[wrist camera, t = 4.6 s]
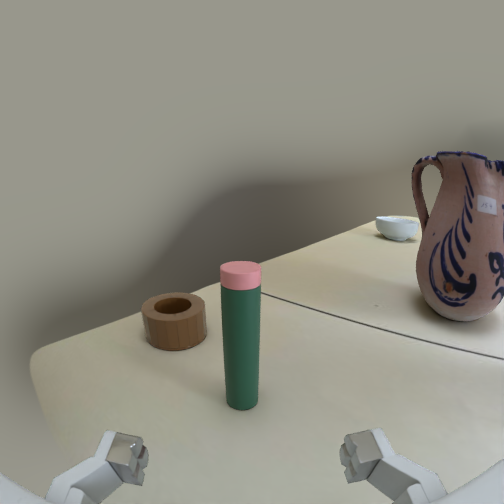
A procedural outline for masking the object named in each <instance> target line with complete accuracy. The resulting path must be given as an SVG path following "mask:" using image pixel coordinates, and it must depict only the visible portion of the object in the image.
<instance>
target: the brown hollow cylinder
mask: <svg viewBox="0 0 504 504" xmlns="http://www.w3.org/2000/svg"><path fill="white" fill-rule="evenodd" d="M141 313H142V319H143V325H144V330H145V335H146V339H147V341H148V342H149V343H150V344H151V345H152V346H154V347H156V348H159V349H163V350H171V351H175V350H184V349H188V348H191V347H194V346H196V345H197V344H199V343H200V342H202V341H203V340H204V338H205V337H206V333H207V330H206V316H205V303H204V301H203V300H202V299H201V298H200V297H198V296H196V295H193V294H189V293H167V294H161V295H158V296H155V297H152V298H150V299H148V300H146V301H145V302H144V303H143V304H142V307H141Z"/></svg>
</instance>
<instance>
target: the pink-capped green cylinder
mask: <svg viewBox="0 0 504 504" xmlns="http://www.w3.org/2000/svg"><path fill="white" fill-rule="evenodd" d="M220 279H221V280H220V281H221V309H222V331H223V351H224V369H225V385H226V399H227V403H228V404H229V405H230V406H231V407H232V408H234V409H238V410H247V409H250V408H252V407H254V406H255V405H256V404H257V402H258V381H259V344H260V302H261V266H260V265H259V264H257V263H253V262H249V261H233V262H228V263H225V264H223V265H221V267H220Z"/></svg>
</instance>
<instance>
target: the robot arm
mask: <svg viewBox="0 0 504 504" xmlns="http://www.w3.org/2000/svg"><path fill="white" fill-rule="evenodd" d="M344 442H345V443H344V444H343V445H341V448H340V460H341V464H342V465H344V466H345V467H346V469H345V471H344V473H345V476H346V479H347V482H348V484H349V483H353V482H358V481H362V480H366V479H367V481H368V482H369V483H371V484H372V485H373V486H374V487H376V488H377V489H378V490H380V491H381V492H382V493H384V494H385V495H386V496H388V497H389V498H390V499H392V500H393V501H394V502H393V503H392V504H504V459H502V460H500V461H498V462H497V463H495V464H494V465H493V466H491V467H490V468H489V469H487V470H486V471H484V472H483V473H481V474H480V475H478V476H477V477H475V478H474V479H472V480H471V481H469V482H468V483H466V484H464V485H463V486H461V487H459V488H458V489H456V490H454V491H452V492H451V493H449V494H447V492H446V490H445V488H444V486H443V484H442V482H441V481H440V479H439V477H438V475H437V474H436V473H434V472H432V471H430V470H428V469H426V468H424V467H422V466H420V465H418V464H417V463H415V462H413V461H411V460H409V459H407V458H405V457H404V456H402V455H400V454H395V453H394V451H393V449H392V447H391V445H390V443H389V441H388V439H387V437H386V435H385V433H384V431H383V430H382V429H381V428H375V429H371V430H366V431H362V432H358V433H353V434H348V435H346V436H345V438H344ZM148 456H149V455H148V450H147V448H146V447H145V446H144V445H143V440H142V438H141V437H138V436H133V435H128V434H123V433H119V432H114V431H110V430H107V431H106V432H105V433H104V435H103V437H102V439H101V441H100V444H99V446H98V448H97V451H96V453H95V455H94V457H89V458H87V459H86V460H84V461H82V462H81V463H79V464H77V465H76V466H74V467H72V468H71V469H69V470H67V471H65V472H64V473H62V474H60V475H58V476H56V477H55V478H54V479H53V481H52V483H51V485H50V488H49V490H48V492H47V494H46V496H45V499H44V498H42V497H40V496H38V495H36V494H34V493H33V492H31V491H29V490H27V489H26V488H24V487H22V486H21V485H19V484H18V483H16V482H14V481H13V480H11V479H10V478H8V477H7V476H5V475H4V474H2V473H1V472H0V504H99V503H101V502H102V501H103V500H104V499H105V498H107V497H108V496H109V495H110V494H111V493H113V492H114V491H115V490H116V489H117V488H118V487H120V486H121V485H122V484H123V482H125V483H130V484H135V485H140V486H142V484H143V480H144V476H145V473H144V472H143V469H144V468H145V467H147V464H148Z"/></svg>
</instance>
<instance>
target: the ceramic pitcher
mask: <svg viewBox="0 0 504 504" xmlns="http://www.w3.org/2000/svg"><path fill="white" fill-rule="evenodd" d="M429 164H431V165H434V166H436V167H437V168H438V169H439V170H440V173H441V177H442V179H443V181H442V184H441V187H440V190H439V193H438V196H437V198H436V201H435V204H434V207H433V209H432V212H431V214H430V217H429V215H428V211H427V208H426V204H425V200H424V197H423V193H422V183H421V174H422V171H423V169H424V167H426V166H427V165H429ZM412 190H413V197H414V200H415V204H416V209H417V212H418V215H419V219H420V223H421V228H422V240H421V243H420V247H419V251H418V255H417V260H416V273H417V279H418V284H419V287H420V290H421V292H422V295H423V296H424V299H425V300H426V302H427V303H428V304H429V305H430V306H431V307H432V308H433V309H434V310H435V311H436V312H437V313H439V314H440V315H442V316H443V317H446V318H448V319H451V320H455V321H472V320H476V319H479V318H481V317H483V316H485V315H487V314H488V313H490V312H491V311H492V310H494V309H495V308H496V306H497V305H498V304H499V303H500V301H501V300H502V298H503V296H504V161H499V160H497V161H490V160H487V157H486V156H483V155H479V154H476V153H472V152H438V153H437V155H436V156H426V157H422V158H420V159H419V160H418V161H417V163H416V164H415V165H414V167H413V170H412Z"/></svg>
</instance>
